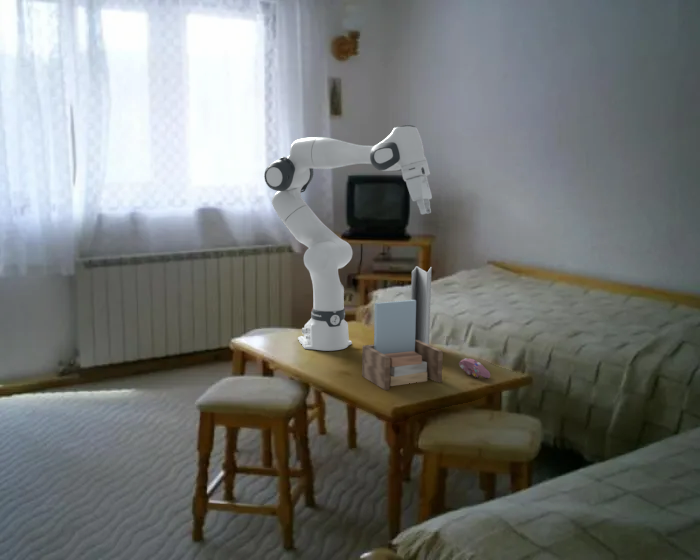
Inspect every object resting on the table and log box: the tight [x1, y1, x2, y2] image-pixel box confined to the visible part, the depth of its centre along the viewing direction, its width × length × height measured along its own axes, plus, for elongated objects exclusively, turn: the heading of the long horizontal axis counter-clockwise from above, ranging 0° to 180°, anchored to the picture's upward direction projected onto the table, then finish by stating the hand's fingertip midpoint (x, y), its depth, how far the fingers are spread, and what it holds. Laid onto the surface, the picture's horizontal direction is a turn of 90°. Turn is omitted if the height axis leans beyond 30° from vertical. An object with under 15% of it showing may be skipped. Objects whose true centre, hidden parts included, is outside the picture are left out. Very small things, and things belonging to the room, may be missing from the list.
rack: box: [361, 340, 444, 391], centre depth 229 cm, size 15×20×10 cm
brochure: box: [410, 265, 433, 345], centre depth 260 cm, size 14×6×30 cm, turn 168°
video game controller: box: [458, 357, 491, 379], centre depth 234 cm, size 10×5×7 cm, turn 35°
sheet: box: [373, 299, 416, 354], centre depth 232 cm, size 2×14×24 cm, turn 115°
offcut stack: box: [385, 351, 428, 387], centre depth 228 cm, size 7×13×8 cm, turn 115°
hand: (426, 213), depth 241 cm, fingers open, 8 cm apart
